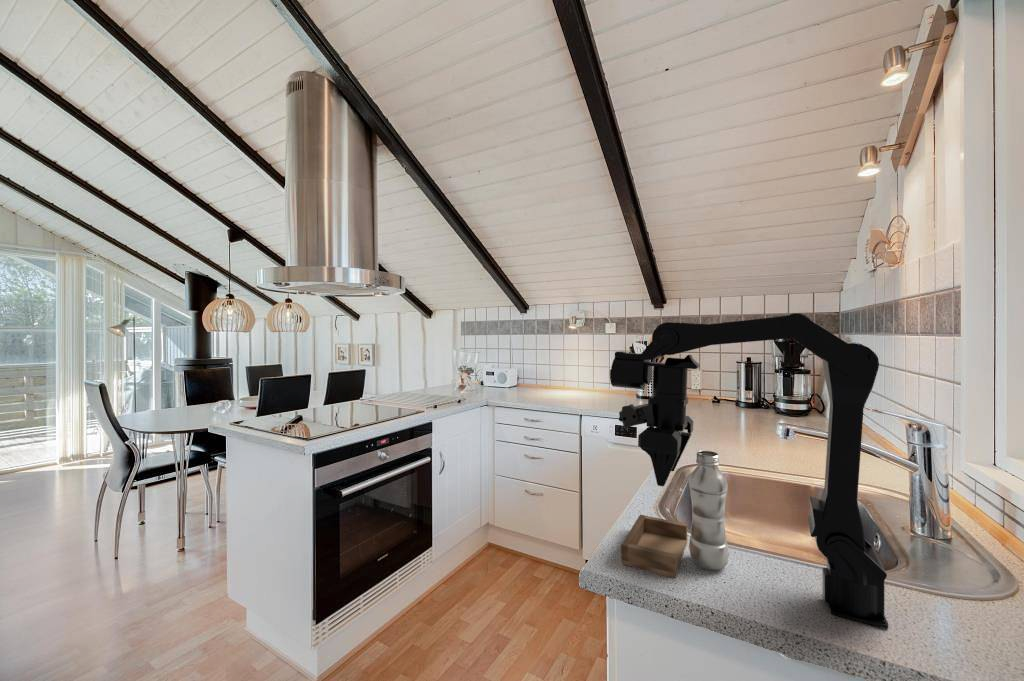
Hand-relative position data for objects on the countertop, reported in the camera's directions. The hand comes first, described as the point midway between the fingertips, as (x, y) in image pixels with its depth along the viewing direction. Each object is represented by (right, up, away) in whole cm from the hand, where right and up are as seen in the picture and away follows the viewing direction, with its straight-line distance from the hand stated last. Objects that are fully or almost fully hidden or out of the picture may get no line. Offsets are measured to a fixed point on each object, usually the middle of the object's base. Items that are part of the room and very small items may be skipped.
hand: (666, 477), depth 76 cm
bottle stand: (-1, -15, +4) cm, 16 cm away
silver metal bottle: (+7, -16, -1) cm, 17 cm away
